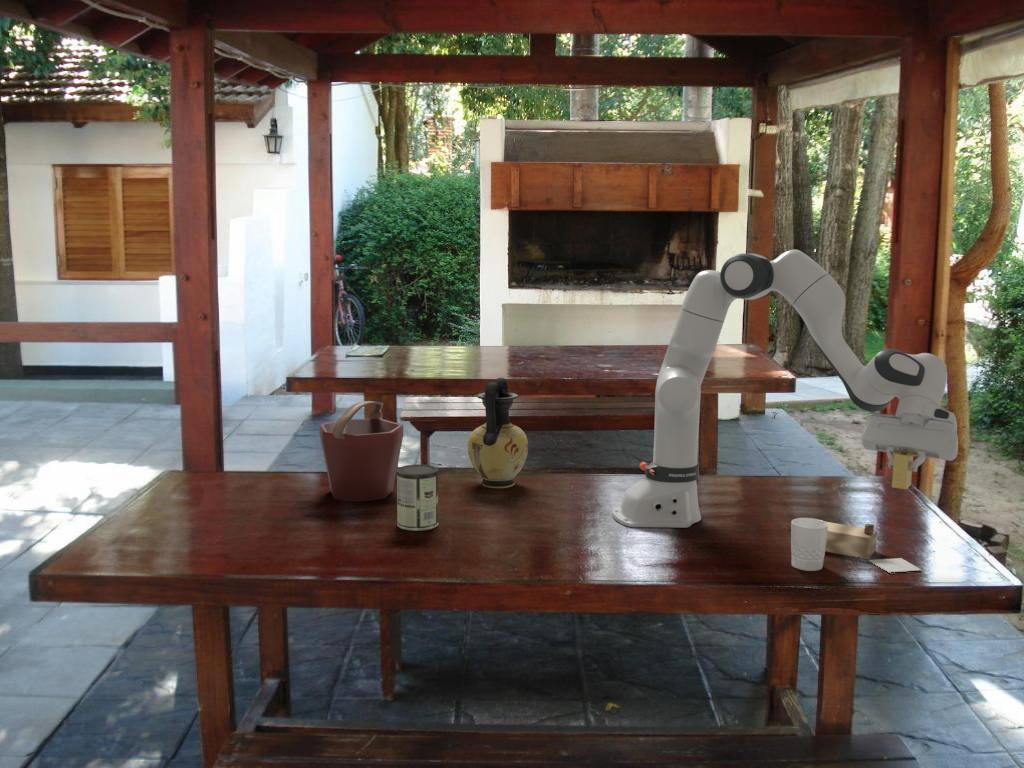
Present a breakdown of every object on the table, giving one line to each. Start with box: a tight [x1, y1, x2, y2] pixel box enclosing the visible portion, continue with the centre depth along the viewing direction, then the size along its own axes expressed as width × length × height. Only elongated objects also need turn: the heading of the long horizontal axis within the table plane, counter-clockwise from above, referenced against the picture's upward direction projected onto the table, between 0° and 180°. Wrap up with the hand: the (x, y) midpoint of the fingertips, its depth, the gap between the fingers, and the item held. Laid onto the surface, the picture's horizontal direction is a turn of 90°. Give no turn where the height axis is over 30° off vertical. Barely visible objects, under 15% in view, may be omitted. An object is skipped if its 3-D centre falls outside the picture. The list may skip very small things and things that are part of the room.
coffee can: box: [396, 464, 439, 532], centre depth 264 cm, size 10×10×14 cm
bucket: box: [319, 400, 404, 503], centre depth 290 cm, size 24×22×25 cm
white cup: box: [790, 517, 828, 572], centre depth 238 cm, size 8×8×10 cm
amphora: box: [467, 377, 529, 489], centre depth 301 cm, size 18×17×30 cm
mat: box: [868, 557, 922, 574], centre depth 239 cm, size 8×8×1 cm
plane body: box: [825, 521, 878, 560], centre depth 250 cm, size 14×7×7 cm, turn 57°
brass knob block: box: [891, 449, 914, 490], centre depth 236 cm, size 3×4×8 cm, turn 147°
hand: (902, 468), depth 235 cm, fingers closed on brass knob block, 3 cm apart
